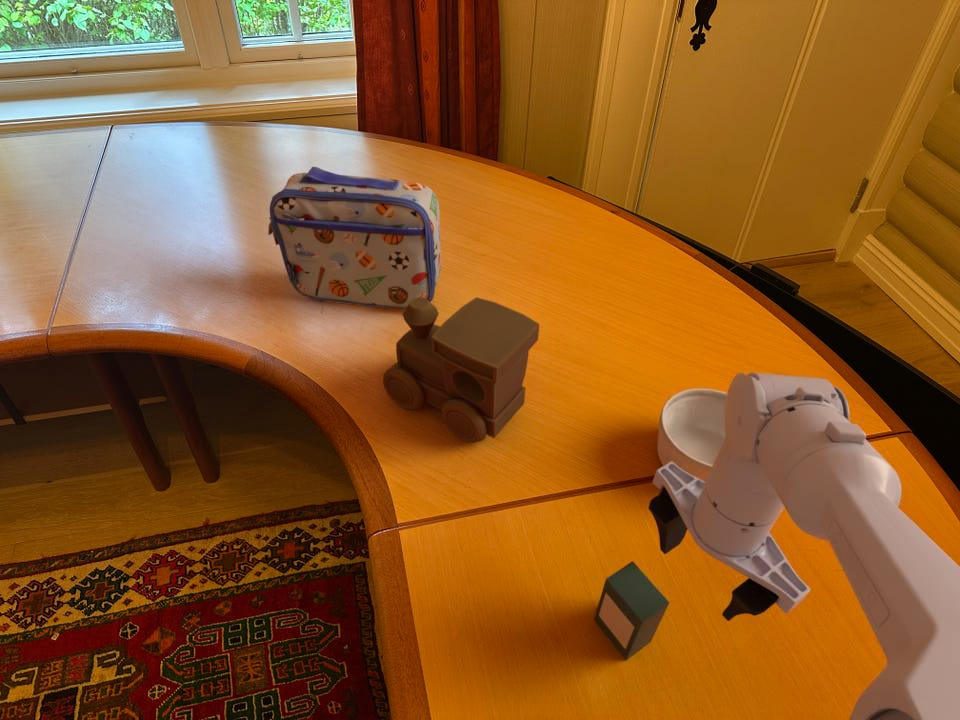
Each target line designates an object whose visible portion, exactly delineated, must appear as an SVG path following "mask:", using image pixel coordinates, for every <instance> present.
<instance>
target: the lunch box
mask: <svg viewBox="0 0 960 720" xmlns="http://www.w3.org/2000/svg"><path fill="white" fill-rule="evenodd" d="M283 187H284V188H282V190H281V191H278V192H277V193H275V194H274V195H273V196H272V197H271V201H270V204H269V224H268V230H267V234H268V236H270V235H273V239H274V243H275V245H276V246H279V250H280V254H281V256H282V261H283V263H284V267H285V270H286V273H287V277H288V280H289V282H290V283H291V286H292V287H293V288H294V289H295V290H296V292H298V293H299V294H300V295H301V296H303V297H305V298H308V299H310V300H314V301H319V302H326V303H327V302H329V303H337V304H348V305H355V306H360V307H374V308H386V309H400V310H401V309H403V310H405V309H406V307H407V306H408V304H409V303H410V302H411V300H413V299H414V298H419V297H421V298H425V299H427V300H428V301H429V302H430V303H431V302H432V301H433V300H434V298H435V291H436V286H437V284H438V280H439V278H440V275H441V270H442V253H441V251H442V250H441V247H442V246H441V245H442V244H441V224H440V223H441V221H440V220H441V219H440V218H441V217H440V216H441V215H440V213H441V211H440V203H439V199H438V197H437V195H436V193H435V192H434V190H432V189H431V188H430V187H429V186H427V185H425V184H422V183H419V182H414V181H410V180H402V179H401V180H400V179H393V178H384V177H383V178H382V177H370V176H357V175H346V174H338V173H334V172H331V171H328V170H325V169H322V168H320V167H317V166H312V167H311V168H310V169H309V170H308V172H299V173H298V172H297V173H294V174H292V175H291V176H290V177H289V178H288V179H287V181H286V184H285V186H283Z"/></svg>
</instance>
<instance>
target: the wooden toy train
mask: <svg viewBox="0 0 960 720" xmlns="http://www.w3.org/2000/svg"><path fill="white" fill-rule="evenodd" d="M438 316H439V311H438V308H437V307H436V306H435V305H434V304H433V303H431V302H429V301H428V300H427V299H425V298H421V297H419V298H414V299H413V300H411V302H410V303H409V304H408V306H407V307H406V309H404V311H403V313H402V317H403V320H404V322H405V323H406V324H407V326H408V327H409V328H410V329H409V330H408V331H406V332H405V333H404V334H403V336H401V338H400V339H398V341H397V342H396V343H395V351H396V352H395V353H396V362H395V363H394V364H393V365H392V366H390V367H389V368H387V369H386V370H385V372H384V373H383V376H382V383H383V387H384V388H383V389H384V391H385V392H386V393H387V395H388V397H389V398H390V400H392V401H393V402H394V404H396V405H397V406H399V407H400V408H403V409H404V410H410V411H414V410H418V409H421V408H422V407H423V405H424V403H427V404H429V405H431V406H433V407H434V408H436V409H439V410H441V417H442V422H443V423H444V425H445V427H446V428H447V429H448V431H449V432H450V433H451V434H452V435H454V436H455V438H457V439H459V440H461V441H463V442H465V443H471V444H475V443H480V442H482V441H484V440H485V438H486V435H487V436H489V437H491V438H493V439H495V438H496V437H497V436H498V434H500V433H501V431H502V430H503V429H504V428H505V427H506V425H507V424H508V423H509V422H510V421H511V420H512V418H514V416H515V415H516V414H517V413H518V412H519V410H520V409H522V407H523V406H524V405H525V398H526V387H525V386H523V383H524V379H525V377H526V372H527V367H528V360H529V351H530V350H531V349H532V348H533V347H534V345H535V344H536V343H537V342H538V341H539V336H540V323H539V322H537V321H535V320H533V319H532V318H531V317H529V316H527V315H525V314H523V313H522V312H519V311H516V310H514V309H512V308H509V307H507V306H505V305H503V304H500V303H497V302H495V301H491V300H488V299H484V298H481V297H477V296H476V297H474V298H473V299H471V300H470V301H469V302H467V303H465V304H463V306H461V307H460V308H459V309H458V310H456V311H455V312H454V313H453V314H452V315H451V316H449V318H447V319H446V320H445V321H444V322H443V323H442V324H441V325H437V324H435V323H436V321H437V319H438Z"/></svg>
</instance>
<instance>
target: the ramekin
mask: <svg viewBox="0 0 960 720" xmlns="http://www.w3.org/2000/svg"><path fill="white" fill-rule="evenodd" d="M727 393H728V392H725V391H721V390H718V389H712V388H701V387H700V388H699V387H698V388H689V389H685V390H682V391H679V392H676V393H675V394H673V395H672V396H670V397H669V398H668V399H667V401H666V402H665V403H664V404H663V407H662V409H661V411H660V414H659V419H658V433H657V443H656V444H657V446H656V447H657V449H656V450H657V455H658V457H659V460H660V463H661V465H662V467H663V466H664V465H666V464H668V463H669V462H671V461H672V462H673V463H675V464H676V465H677V466H678V467H679V468H681V469H682V470H684V471H685V472H687V473H689V474H691V475H693V476H695V477H696V478H698V479H700V480H702V481H704V482H706V480H707V478H708V475H709V473H710V471H711V468H712V466H713V464H714V461H715V459H716V457H717V455H718V452H719V450H720V448H721V445H722V443H723V441H724V438H725V428H724V411H725V402H726V397H727Z"/></svg>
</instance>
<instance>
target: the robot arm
mask: <svg viewBox="0 0 960 720" xmlns="http://www.w3.org/2000/svg"><path fill="white" fill-rule="evenodd" d="M726 393H727V397H726V402H725V411H724V428H725V438H724V441H723V443H722V445H721V448H720V450H719V452H718V455H717V457H716V459H715V461H714V464H713V466H712V468H711V471H710V473H709V475H708V478H707V480H706V482H704V481H702V480H700V479H698V478H696V477H695V476H693V475H691V474H689V473H687V472H685V471H684V470H682V469H681V468H679V467H678V466H677V465H676V464H675V463H673V462H672V461H671V462H669V463H668V464H666V465H664V466H663V465H662V466H661V467H659V468H658V469H656V471H655V473H654V477H653V479H652V485H653V486H655V487H656V489H658V490H660V491H659V493H658V495H656V496H654V497H652V498H651V500H650V501H649V504H648V510H649V512H650V513H651V515H652V517H653V518H654V522H655V524H656V527H657V531H658V540H659V549H660V552H662V553H663V554H664V555H666V554H668V553H669V552H671V551H672V550H673V549H675V548H677V547H678V546H680V545H681V543H682V542H683V540H684V538H685V536H686V535H687V531H688V532H689V534H690V537H691V538H692V540H693V541H694V543H695V544H696V545H697V546H698V547H699V548H700V550H702V551H703V552H704V553H705V554H707V555H709V556H710V557H712V558H714V559H715V560H717V561H719V562H721V563H722V564H724V565H726V566H727V567H729V568H731V569H732V570H734V571H736V572H738V573H739V574H740V575H743V576H745V577H746V578H747V579H746V580H745V581H743V582H741V584H739V585H738V586H737V587H735V588H734V589H733V590H732V591H731V600H730V602H729V603H728V605H727V606H726V608H725V609H724V610H723V611H722V614H721V616H722V617H723V618H724V619H725V620H726V621H727V622H730V621H732V619H734V618H735V617H736V616H739V615H751V616H759V615H761V614H763V613H765V612H766V611H768V610H769V609H770V608H772V606H774V605H775V604H776V605H777V607H778V608H780V609H781V611H783V612H784V613H785V614H788V613H789V612H791V611H792V610H793V609H794V608H796V607H797V606H798V605H799V604H800V603H802V601H803V600H804V599H805V598H806V597H807V595H809V593H810V592H811V591H812V590H811V587H810V586H808V585H807V584H806V582H805V581H803V580H802V578H800V576H799V575H798V574H797V573H796V571H795V569H794V568H793V566H792V565H791V564H790V562H789V560H788V559H787V557H786V556H785V554H784V553H783V551H782V550H781V548H780V546H779V545H778V543H777V542H776V540H775V539H774V537H773V535H772V534H771V532H770V531H771V530H772V529H773V527H774V525H775V523H776V522H777V520H778V518H779V517H780V515H781V514H782V512H783V511H784V509H785V510H786V512H787V514H788V515H789V517H790V518H791V520H792V522H793V523H794V524H795V526H796V527H797V528H798V529H800V531H802V532H804V533H805V534H807V535H809V536H811V537H813V538H816V539H818V540H823V541H827V542H829V545H830V546H831V548H832V551H833V552H834V554H835V556H836V558H837V560H838V563H839V565H840V566H841V569H842V571H843V572H844V574H845V577H846V579H847V580H848V583H849V585H850V587H851V589H852V591H853V593H854V595H855V597H856V599H857V601H858V603H859V605H860V607H861V609H862V612H863V613H864V615H865V618H866V619H867V621H868V623H869V625H870V626H871V629H872V632H873V633H874V635H875V638H876V639H877V642H878V644H879V645H880V648H881V649H882V652H883V654H884V656H885V659H886V666H885V667H884V669H883V670H882V671H881V672H880V673H879V674H878V675H877V676H876V677H875V679H874V680H873V681H871V682H870V684H869V685H868V686H867V687H866V688H865V689H864V690H863V691H862V693H861V694H860V695H859V697H858V698H857V700H856V702H855V704H854V706H853V708H852V711H851V714H850V716H849V718H848V720H960V565H958V563H957V562H956V561H954V560H953V558H951V556H949V555H948V554H947V553H946V552H945V551H944V550H943V549H942V548H941V547H940V546H939V545H938V544H937V543H935V541H934V540H933V539H931V538H930V536H928V535H927V534H926V533H925V532H924V531H923V530H922V529H921V528H920V527H919V526H918V525H917V524H916V523H915V522H914V521H913V520H912V519H911V518H910V517H909V516H908V515H907V514H905V513H904V511H902V510H901V509H900V508H899V506H900V503H901V501H902V492H903V489H902V483H901V479H900V477H899V475H898V473H897V471H896V470H895V469H894V467H893V466H892V465H891V464H890V463H889V462H888V461H887V460H886V459H885V458H884V457H883V456H882V455H881V453H880V452H879V451H878V450H877V449H875V447H874V446H873V445H872V444H871V443H870V442H869V440H867V439H866V438H867V434H866V432H865V431H864V430H862V428H861V427H860V426H859V425H858V424H857V423H852V422H851V421H850V420H851V419H850V407H849V404H848V399H847V398H846V395H845V393H844V392H843V391H842V389H840V388H839V387H837V386H834V385H833V384H832V382H830V381H829V379H826V378H823V377H812V376H797V375H787V374H774V373H761V372H749V373H747V374H745V373H744V372H738V373H737V374H736V375H735V376H733V378H732V380H731V382H730V383H729V386H728V390H727V392H726Z"/></svg>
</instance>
